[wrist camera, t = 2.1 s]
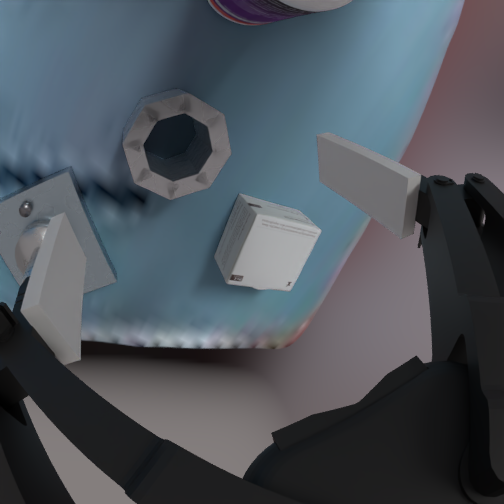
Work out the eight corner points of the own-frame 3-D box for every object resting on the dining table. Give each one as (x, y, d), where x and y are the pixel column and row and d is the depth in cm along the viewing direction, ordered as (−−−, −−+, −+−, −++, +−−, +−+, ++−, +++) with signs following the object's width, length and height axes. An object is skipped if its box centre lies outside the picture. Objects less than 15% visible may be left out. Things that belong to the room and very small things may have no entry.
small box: (300, 208, 35) (324, 230, 31) (271, 267, 38) (290, 294, 34) (237, 190, 31) (257, 212, 27) (211, 257, 34) (225, 286, 30)
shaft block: (-16, 207, 22) (-53, 260, 15) (71, 166, 24) (50, 208, 17) (38, 301, 29) (27, 365, 22) (116, 273, 31) (120, 337, 24)
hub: (117, 105, 23) (114, 115, 18) (200, 82, 24) (219, 86, 19) (139, 181, 27) (143, 209, 22) (215, 157, 28) (236, 179, 24)
